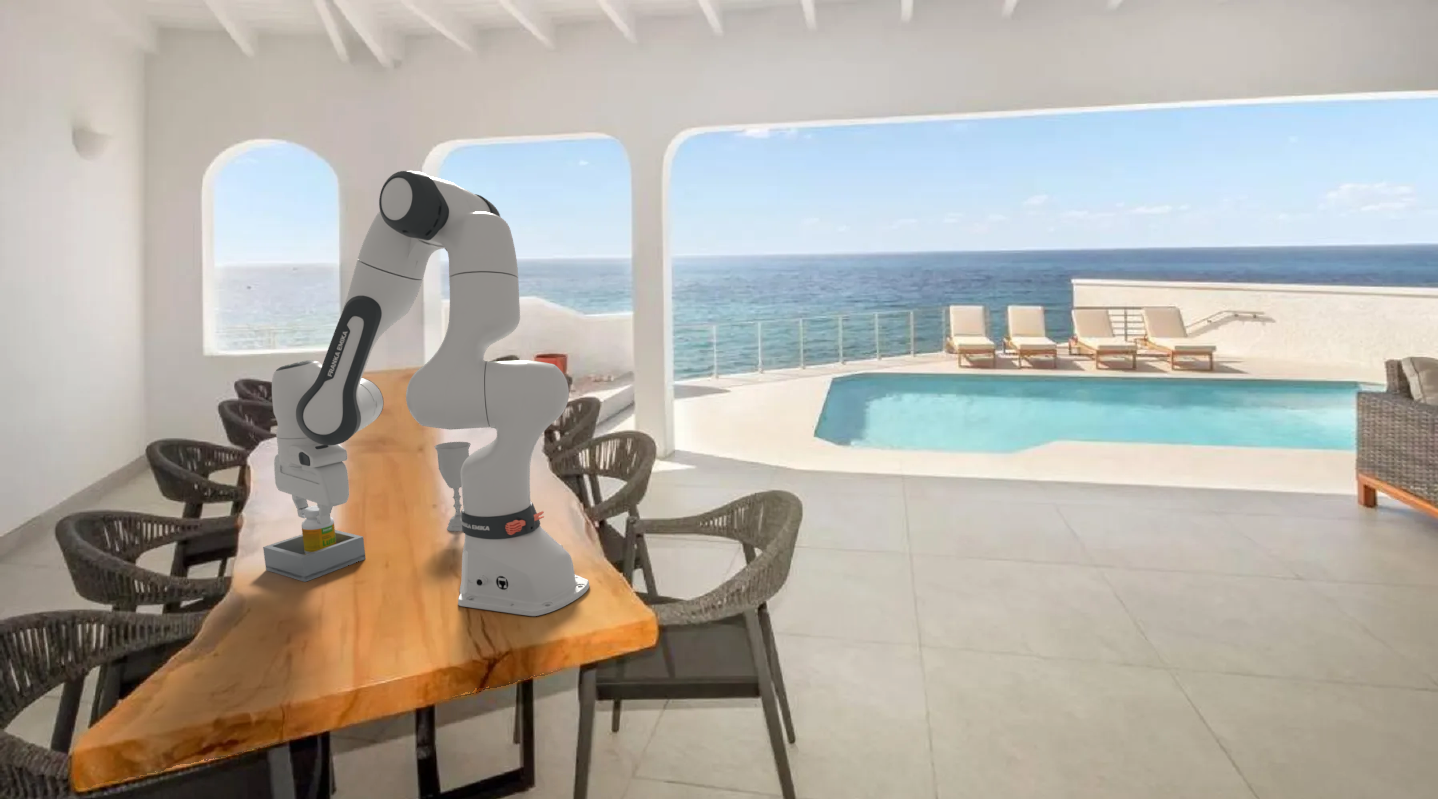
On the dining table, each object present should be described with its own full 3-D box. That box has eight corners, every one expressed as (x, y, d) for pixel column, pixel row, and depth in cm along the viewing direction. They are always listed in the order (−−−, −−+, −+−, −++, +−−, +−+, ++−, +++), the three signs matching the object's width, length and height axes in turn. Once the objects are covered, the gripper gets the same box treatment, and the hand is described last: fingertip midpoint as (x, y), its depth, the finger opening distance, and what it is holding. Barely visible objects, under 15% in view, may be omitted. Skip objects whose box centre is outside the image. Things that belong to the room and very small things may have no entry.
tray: (365, 559, 143) (363, 536, 142) (305, 582, 133) (302, 557, 132) (326, 548, 149) (324, 527, 148) (266, 570, 139) (263, 547, 138)
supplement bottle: (327, 562, 139) (321, 512, 137) (299, 562, 139) (293, 512, 138) (343, 551, 144) (337, 503, 143) (316, 551, 145) (310, 503, 143)
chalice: (436, 532, 157) (428, 449, 154) (448, 522, 164) (441, 441, 161) (470, 532, 157) (463, 449, 154) (481, 521, 163) (475, 441, 160)
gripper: (260, 445, 141) (269, 515, 144) (317, 460, 130) (325, 535, 132) (295, 438, 146) (303, 506, 149) (352, 452, 135) (360, 525, 137)
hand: (314, 520), depth 140 cm, fingers open, 6 cm apart
